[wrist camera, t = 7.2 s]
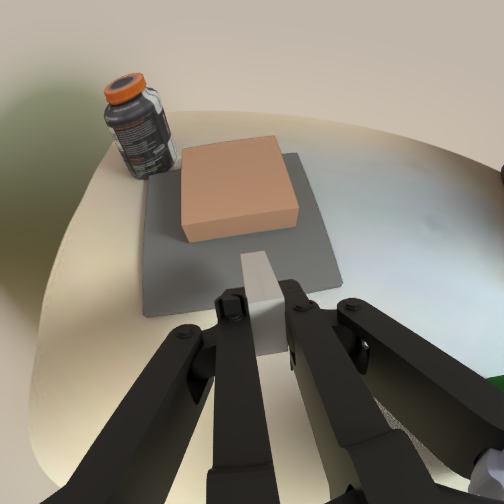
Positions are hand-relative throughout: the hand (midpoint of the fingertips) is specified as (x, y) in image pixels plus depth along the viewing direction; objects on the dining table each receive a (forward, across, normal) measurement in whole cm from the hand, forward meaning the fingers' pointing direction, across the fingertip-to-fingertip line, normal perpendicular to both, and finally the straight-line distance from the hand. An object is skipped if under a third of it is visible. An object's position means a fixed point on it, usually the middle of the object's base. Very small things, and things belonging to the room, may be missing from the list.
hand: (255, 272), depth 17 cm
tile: (+5, 0, -2) cm, 6 cm away
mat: (+8, +1, -2) cm, 9 cm away
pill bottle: (+16, +9, -9) cm, 20 cm away
